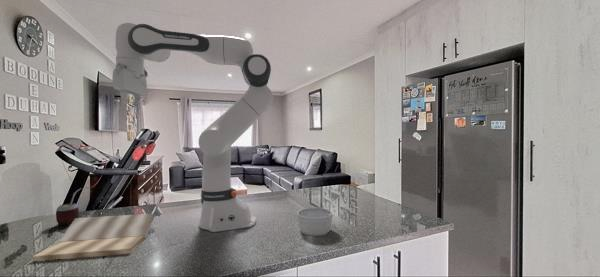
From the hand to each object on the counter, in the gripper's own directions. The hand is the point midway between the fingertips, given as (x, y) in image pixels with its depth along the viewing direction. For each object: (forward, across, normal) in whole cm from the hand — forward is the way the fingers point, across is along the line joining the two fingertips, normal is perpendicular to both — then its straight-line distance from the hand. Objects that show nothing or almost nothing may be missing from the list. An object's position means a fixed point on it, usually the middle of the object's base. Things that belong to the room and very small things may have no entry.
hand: (131, 105), depth 100 cm
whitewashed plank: (+45, -6, +5) cm, 46 cm away
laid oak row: (+48, -17, +5) cm, 51 cm away
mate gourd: (+48, +12, +29) cm, 58 cm away
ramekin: (+48, -15, -68) cm, 84 cm away
